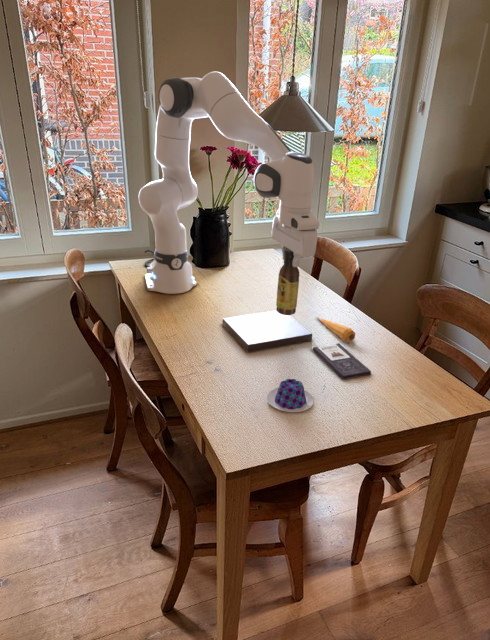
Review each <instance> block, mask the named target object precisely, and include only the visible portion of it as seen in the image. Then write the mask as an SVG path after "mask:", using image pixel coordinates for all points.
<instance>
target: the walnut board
mask: <svg viewBox="0 0 490 640" xmlns="http://www.w3.org/2000/svg"><path fill="white" fill-rule="evenodd" d="M222 327H223V328H224V329H226V331H227V332H228V333H229V334H230V335H231V336H232V337H233V338H234V339H235V340H236V341H237V342H238V344H240V346H241V347H243V349H244V350H245V351H246V352H247V353H252V352H257V351H262V350H267V349H268V350H269V349H274V348H280V347H286V346H290V345H291V346H292V345H296V344H303V343H307V342H311V341H312V339H313V333H312V332H311V331H310V330H308V329H307V328H306V327H305V326H303V325H302V324H301V323H300V322H299V321H298V320H297V319H295V318H294V317H293V316H291V315H283V314H280V313H278V312H277V309H276V310H269V311H262V312H255V313H248V314H242V315H235V316H228V317H222Z"/></svg>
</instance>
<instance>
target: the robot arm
mask: <svg viewBox="0 0 490 640" xmlns="http://www.w3.org/2000/svg"><path fill="white" fill-rule="evenodd" d="M158 103H159V108H158V113H157V119H156V126H155V143H154V158H155V161H156V162H157V163H158V164H159V165H160V167H161V171H162V178H161V179H158V180H153V181H150V182H148V183H147V184H146V185H144V186H143V187H141V188H140V190H139V192H138V203H139V206H140V208H141V209H142V211H143V212H144V213H146V214H147V215H148V216H149V218H150V221H151V223H152V227H153V231H154V244H155V245H154V246H155V249H154V251H153V250H151V249H146V250H144V253H146V254H147V252H150V253H152V254H153V258H150V259H148V260H147V261H145V262H144V265H145V267H146V274H144V280H145V285H146V289H147V291H150V292H158V293H161V294H166V295H167V294H169V295H173V294H174V295H176V294H182V293H187V292H189V291H190V290H192V289H193V288H194V287H196V286H197V281H196V280H195V277H194V276H193V265H192V263H191V262H190V261H188V260H189V250H188V247H187V228H186V227H185V226H184V225H183V223H181V222H180V219H179V216H178V211H180V210H182V209H186V208H188V207H189V206H191V205H192V204H193V203H195V201H197V199H198V196H199V187H198V185H197V182H195V180H194V179H193V177H192V174H191V170H190V169H191V168H190V145H191V134H192V132H191V131H192V123H193V121H194V120H195V119H200V120H206V119H210V121H211V122H212V124H213V125H214V127H215V128H216V130H217V131H218V132H219V133H220V134H221V135H222V136H223V137H225V138H226V139H228V140H231V141H236V142H241V143H245V144H250V145H253V146H255V147H257V148H258V149H260V150H261V151H263V152H264V154H265V155H266V156H267V157H268V158H269V160H270V161H267V162H263V163H261V164H259V165H258V166H257V167H256V169H255V171H254V175H253V185H254V189H255V191H256V192H257V194H258V195H259V196H260V197H262V198H264V199H278V200H279V206H278V207H279V208H278V209H277V211H276V212H275V215H274V217H273V219H272V226H271V232H270V233H271V239H272V240H273V241H275V242H276V243H278V244H279V245H280V249H281V252H282V261H284V249H285V248H288V249H289V250H291V251H292V252H293V255H294V258H293V260H291V265H292V266H293V267H298V268H299V265H300V261H301V259H310V258H313V257H314V256H315V254H316V251H317V245H318V244H317V243H318V231H317V230H318V229H319V228H320V221H319V220H318V219H317V217H316V216H315V214H314V213H313V211H312V201H311V199H312V194H313V191H314V183H315V182H314V181H315V166H314V161H313V158H311V157H310V156H309V155H308V154H305V153H303V152H298V151H292V149H290V147H289V146H288V145H287V143H285V141H284V140H283V139H282V138H281V136H280V135H279V134H278V133H277V132H276V130H274V128H273V127H272V126H271V125H270V124H269V123H268V122H267V121H266V120H265V119H264V118H262V117H261V116H260V115H259V114H258V113H257V112H256V111H255V110H254V109H253V108H252V107H251V105H250V104H249V103H248V102H247V100H245V98H244V97H243V96H242V94H241V92H240V91H239V90H238V88H237V87H236V86H235V85H234V84H233V83H232V82H231V80H229V78H228V77H227V76H226V75H225V74H223V73H222V72H220V71H210V72H208V73H206V74H205V75H203V76H202V78H200V77H193V76H192V77H170V78H167V79H165V80H163V81H162V82H161V84H160V85H159V90H158ZM148 263H150V264H149V265H148Z"/></svg>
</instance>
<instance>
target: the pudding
mask: <svg viewBox="0 0 490 640" xmlns="http://www.w3.org/2000/svg"><path fill="white" fill-rule="evenodd" d="M266 400H267V402H268V404H269V405H270V406H271V407H272V408H275V409H276V410H279V411H283V412H287V413H300V412H301V413H302V412H304V411H307V410H309V409H310V408H312V407H313V405H314V403H315V399H314V396H313V395H312V394H311V393H310V392H309V391H307V390H305V387H304V384H303V383H302V381H300V380H297V379H295V378H286V379H283V380H281V381H280V383H279V385H278V387H275V388H273V389H272V390H270V391H269V392H268V393H267V396H266Z"/></svg>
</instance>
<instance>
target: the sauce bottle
mask: <svg viewBox="0 0 490 640" xmlns="http://www.w3.org/2000/svg"><path fill="white" fill-rule="evenodd" d="M293 258H294V255H293V252H292V251H291V250H289V249H288V248H285V249H284V260H283V265H282V266H281V267H280V269H279V271H278V277H277V278H278V279H277V288H276V289H277V290H276V302H275V303H276V304H275V306H276V310H277V312H278V313H280V314H283V315H290V316H291V315H295V314H296V311H297V306H298V296H299V287H300V286H299V285H300V270H299V266H298V267H293V266H292V265H291V260H293Z"/></svg>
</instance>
